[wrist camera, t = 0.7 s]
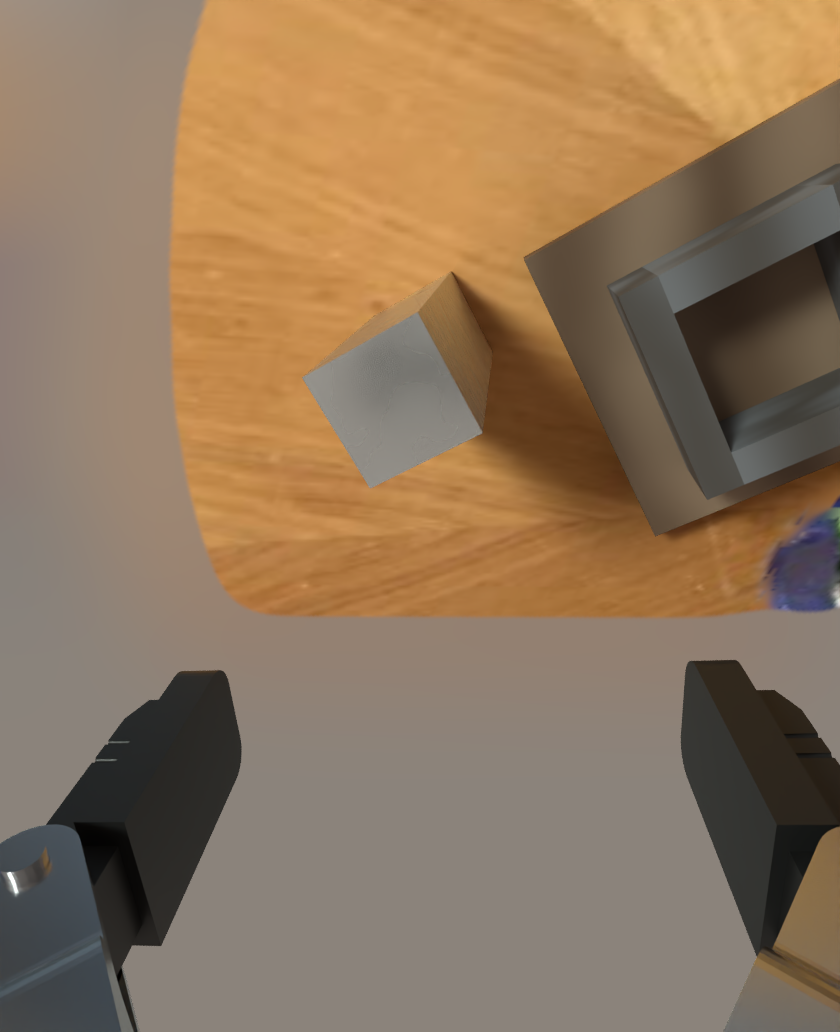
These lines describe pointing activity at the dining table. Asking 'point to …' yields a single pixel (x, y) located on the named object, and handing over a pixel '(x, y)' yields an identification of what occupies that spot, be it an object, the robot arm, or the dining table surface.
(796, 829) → the robot arm
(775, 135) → the square peg hole frame
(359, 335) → the square grey peg
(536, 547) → the dining table surface
